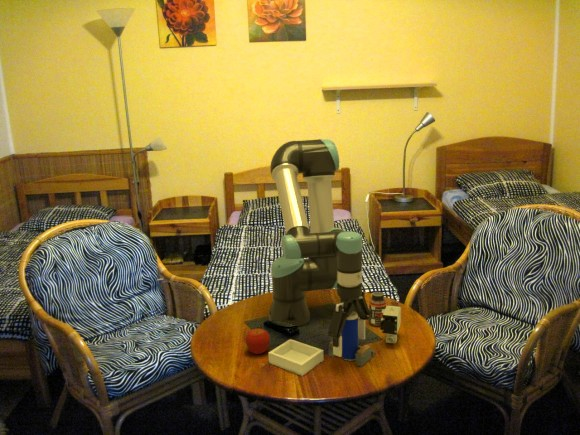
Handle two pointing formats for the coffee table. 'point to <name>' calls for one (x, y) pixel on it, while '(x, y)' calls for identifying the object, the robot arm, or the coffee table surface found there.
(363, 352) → the fuse holder
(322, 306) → the coffee table surface
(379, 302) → the supplement bottle
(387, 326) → the pneumatic valve
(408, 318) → the coffee table surface
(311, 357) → the tray
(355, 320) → the beverage can
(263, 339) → the apple
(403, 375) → the coffee table surface
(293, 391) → the coffee table surface
